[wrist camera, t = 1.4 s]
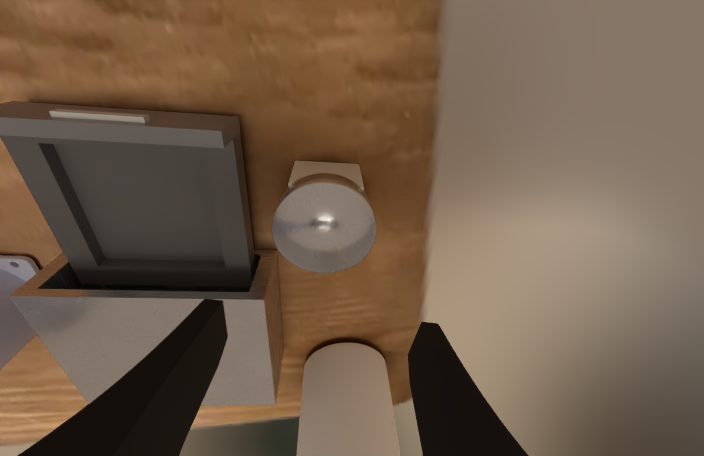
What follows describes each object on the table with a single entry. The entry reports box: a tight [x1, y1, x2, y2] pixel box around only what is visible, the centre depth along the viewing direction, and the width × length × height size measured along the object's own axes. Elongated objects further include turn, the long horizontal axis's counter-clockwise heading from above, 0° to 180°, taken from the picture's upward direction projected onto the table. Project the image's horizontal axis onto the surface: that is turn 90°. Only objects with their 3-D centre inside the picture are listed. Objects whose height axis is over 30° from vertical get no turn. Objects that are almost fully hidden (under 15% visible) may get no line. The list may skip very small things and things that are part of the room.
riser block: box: [288, 160, 364, 191], centre depth 18 cm, size 4×4×4 cm
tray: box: [0, 101, 256, 287], centre depth 17 cm, size 11×11×3 cm
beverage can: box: [297, 343, 401, 456], centre depth 25 cm, size 8×8×12 cm
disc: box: [272, 173, 376, 273], centre depth 16 cm, size 5×5×2 cm
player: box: [9, 249, 284, 406], centre depth 23 cm, size 14×12×5 cm
